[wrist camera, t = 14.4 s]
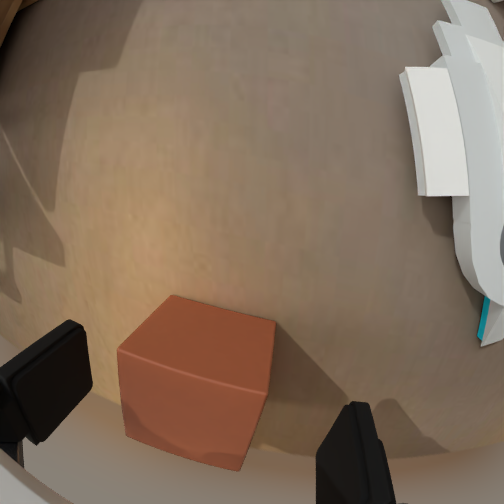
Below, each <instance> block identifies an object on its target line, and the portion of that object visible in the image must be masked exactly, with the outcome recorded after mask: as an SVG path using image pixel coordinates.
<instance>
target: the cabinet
mask: <svg viewBox="0 0 504 504" xmlns="http://www.w3.org/2000/svg"><path fill="white" fill-rule="evenodd" d="M36 1H38V0H23V1H22V3H21V4H20V6H19V8H18V10H17V12H18V11H20V10H21V9H23V8H25V7H27V6H29V5H30V4H32V3H34V2H36Z"/></svg>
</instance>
